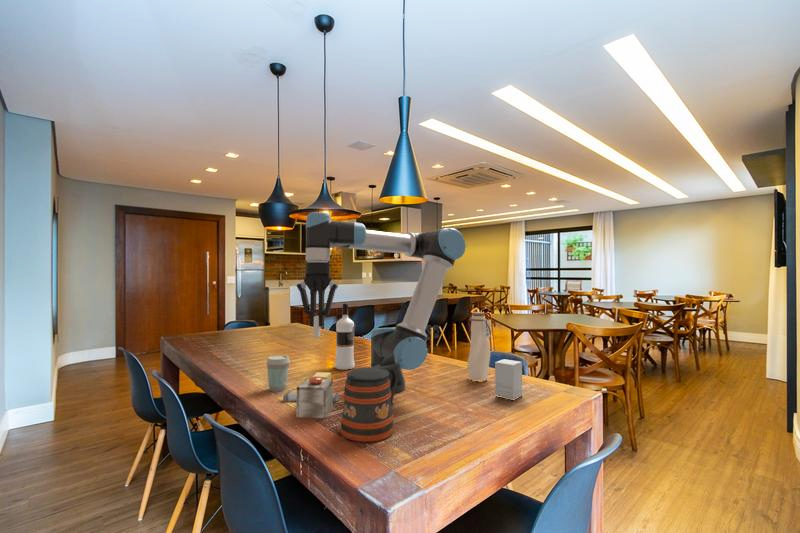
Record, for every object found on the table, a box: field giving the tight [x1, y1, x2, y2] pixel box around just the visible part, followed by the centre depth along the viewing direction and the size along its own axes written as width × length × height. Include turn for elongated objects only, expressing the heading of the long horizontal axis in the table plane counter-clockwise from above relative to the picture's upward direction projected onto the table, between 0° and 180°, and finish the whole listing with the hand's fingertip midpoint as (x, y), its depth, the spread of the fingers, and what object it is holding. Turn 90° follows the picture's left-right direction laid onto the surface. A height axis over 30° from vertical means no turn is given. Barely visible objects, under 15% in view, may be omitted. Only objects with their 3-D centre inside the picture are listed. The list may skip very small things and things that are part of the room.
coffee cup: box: [265, 354, 291, 393], centre depth 144 cm, size 8×9×12 cm
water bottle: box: [467, 311, 492, 380], centre depth 161 cm, size 10×9×28 cm
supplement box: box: [494, 358, 523, 399], centre depth 138 cm, size 7×7×13 cm
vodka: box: [334, 302, 356, 371], centre depth 179 cm, size 9×9×30 cm
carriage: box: [312, 371, 332, 380], centre depth 132 cm, size 5×6×8 cm
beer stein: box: [339, 354, 400, 443], centre depth 108 cm, size 19×15×20 cm
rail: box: [282, 391, 340, 404], centre depth 132 cm, size 18×5×2 cm, turn 87°
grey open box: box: [295, 378, 334, 419], centre depth 120 cm, size 9×9×9 cm
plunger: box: [308, 376, 322, 385], centre depth 121 cm, size 4×4×5 cm
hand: (317, 336), depth 121 cm, fingers closed
